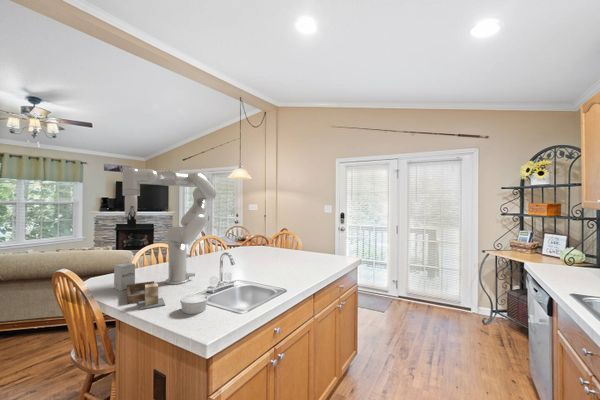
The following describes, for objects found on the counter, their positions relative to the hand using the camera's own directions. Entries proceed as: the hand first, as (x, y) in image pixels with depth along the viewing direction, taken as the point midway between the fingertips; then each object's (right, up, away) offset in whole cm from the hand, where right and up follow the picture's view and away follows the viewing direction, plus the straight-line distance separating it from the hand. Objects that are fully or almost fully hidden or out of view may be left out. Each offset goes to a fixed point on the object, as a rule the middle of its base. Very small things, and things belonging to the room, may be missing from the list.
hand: (131, 226), depth 145 cm
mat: (+18, -34, -15) cm, 41 cm away
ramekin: (+39, -34, -21) cm, 56 cm away
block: (+18, -33, -15) cm, 40 cm away
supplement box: (-9, -34, +9) cm, 36 cm away
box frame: (+7, -34, -3) cm, 34 cm away
